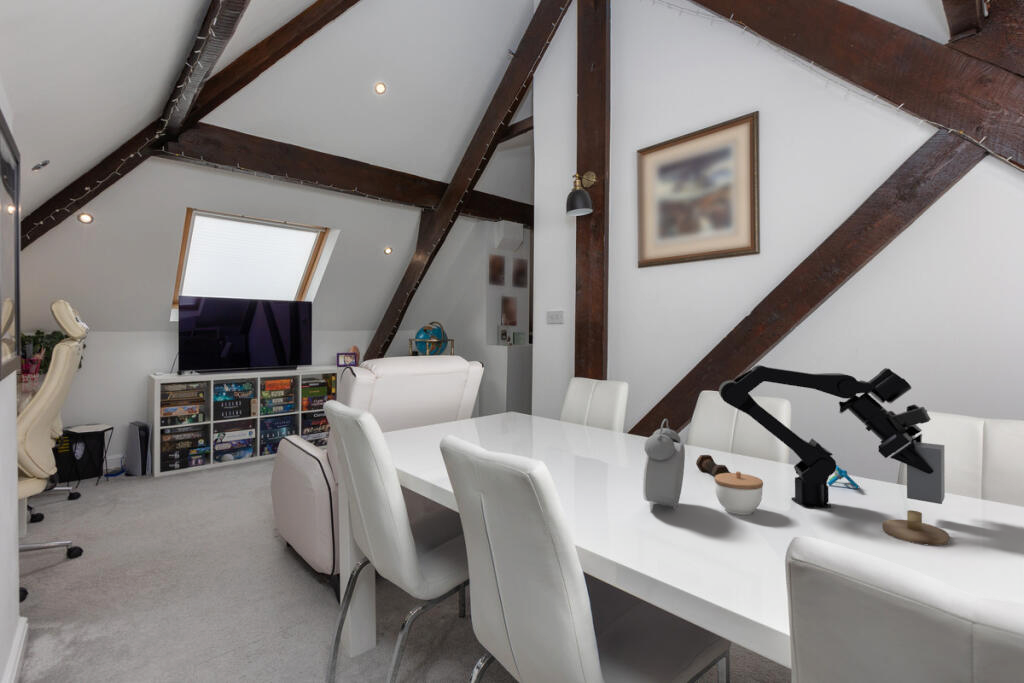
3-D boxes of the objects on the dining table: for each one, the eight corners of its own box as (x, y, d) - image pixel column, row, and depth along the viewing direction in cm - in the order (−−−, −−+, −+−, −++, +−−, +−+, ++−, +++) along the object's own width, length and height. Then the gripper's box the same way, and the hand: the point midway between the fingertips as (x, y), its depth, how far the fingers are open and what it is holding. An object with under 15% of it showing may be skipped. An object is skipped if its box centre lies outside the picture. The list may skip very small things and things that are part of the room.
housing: (906, 498, 115) (906, 445, 115) (911, 492, 119) (910, 441, 119) (941, 504, 110) (941, 449, 110) (944, 497, 115) (944, 445, 114)
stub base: (909, 545, 101) (909, 522, 101) (870, 525, 112) (869, 504, 112) (963, 544, 101) (963, 521, 101) (919, 524, 112) (919, 503, 112)
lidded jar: (725, 500, 130) (725, 464, 130) (769, 510, 122) (769, 471, 122) (707, 510, 122) (706, 472, 122) (753, 522, 115) (752, 480, 115)
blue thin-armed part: (863, 487, 134) (831, 457, 138) (845, 501, 135) (814, 471, 140) (859, 483, 143) (829, 455, 148) (842, 496, 145) (813, 468, 149)
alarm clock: (653, 495, 135) (652, 413, 134) (687, 499, 131) (686, 415, 131) (640, 515, 120) (639, 423, 120) (678, 520, 116) (677, 425, 116)
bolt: (725, 490, 144) (701, 474, 159) (740, 481, 145) (715, 466, 160) (716, 473, 144) (693, 459, 159) (731, 464, 144) (706, 450, 159)
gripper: (896, 397, 111) (963, 456, 103) (910, 390, 124) (971, 441, 116) (853, 429, 116) (914, 486, 109) (871, 419, 129) (927, 469, 122)
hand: (933, 470), depth 114 cm, fingers closed on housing, 6 cm apart
